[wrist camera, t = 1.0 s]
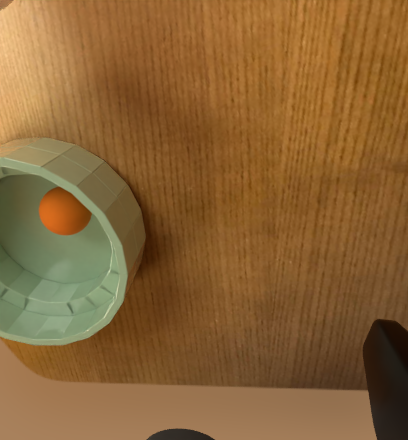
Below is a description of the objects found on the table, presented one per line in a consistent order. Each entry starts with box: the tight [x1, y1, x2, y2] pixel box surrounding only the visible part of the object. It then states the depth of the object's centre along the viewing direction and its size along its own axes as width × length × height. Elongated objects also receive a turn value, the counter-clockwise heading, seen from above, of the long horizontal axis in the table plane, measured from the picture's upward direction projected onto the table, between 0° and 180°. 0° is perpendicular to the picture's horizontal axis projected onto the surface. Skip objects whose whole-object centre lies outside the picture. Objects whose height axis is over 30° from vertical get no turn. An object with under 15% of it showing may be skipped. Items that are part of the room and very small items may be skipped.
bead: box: [39, 186, 92, 235], centre depth 23 cm, size 3×3×3 cm
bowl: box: [0, 137, 146, 345], centre depth 23 cm, size 12×12×5 cm
